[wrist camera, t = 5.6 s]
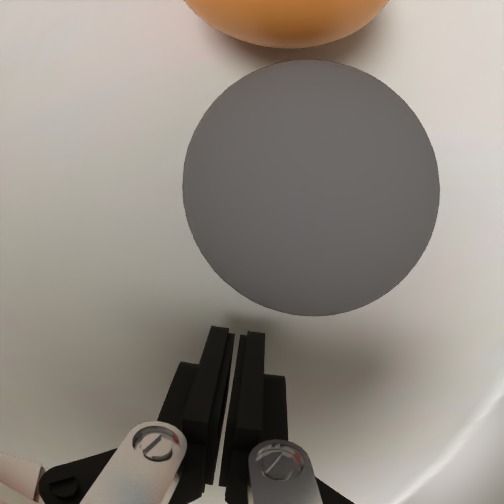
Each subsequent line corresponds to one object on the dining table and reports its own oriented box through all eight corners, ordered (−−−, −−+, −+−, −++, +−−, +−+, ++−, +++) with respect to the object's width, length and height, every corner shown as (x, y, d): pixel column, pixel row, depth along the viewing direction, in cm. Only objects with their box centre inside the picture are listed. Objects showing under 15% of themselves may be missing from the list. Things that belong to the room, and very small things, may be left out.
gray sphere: (216, -11, 3) (242, 33, 7) (126, 328, 5) (184, 200, 10) (538, 179, 4) (414, 112, 8) (377, 387, 6) (337, 253, 11)
